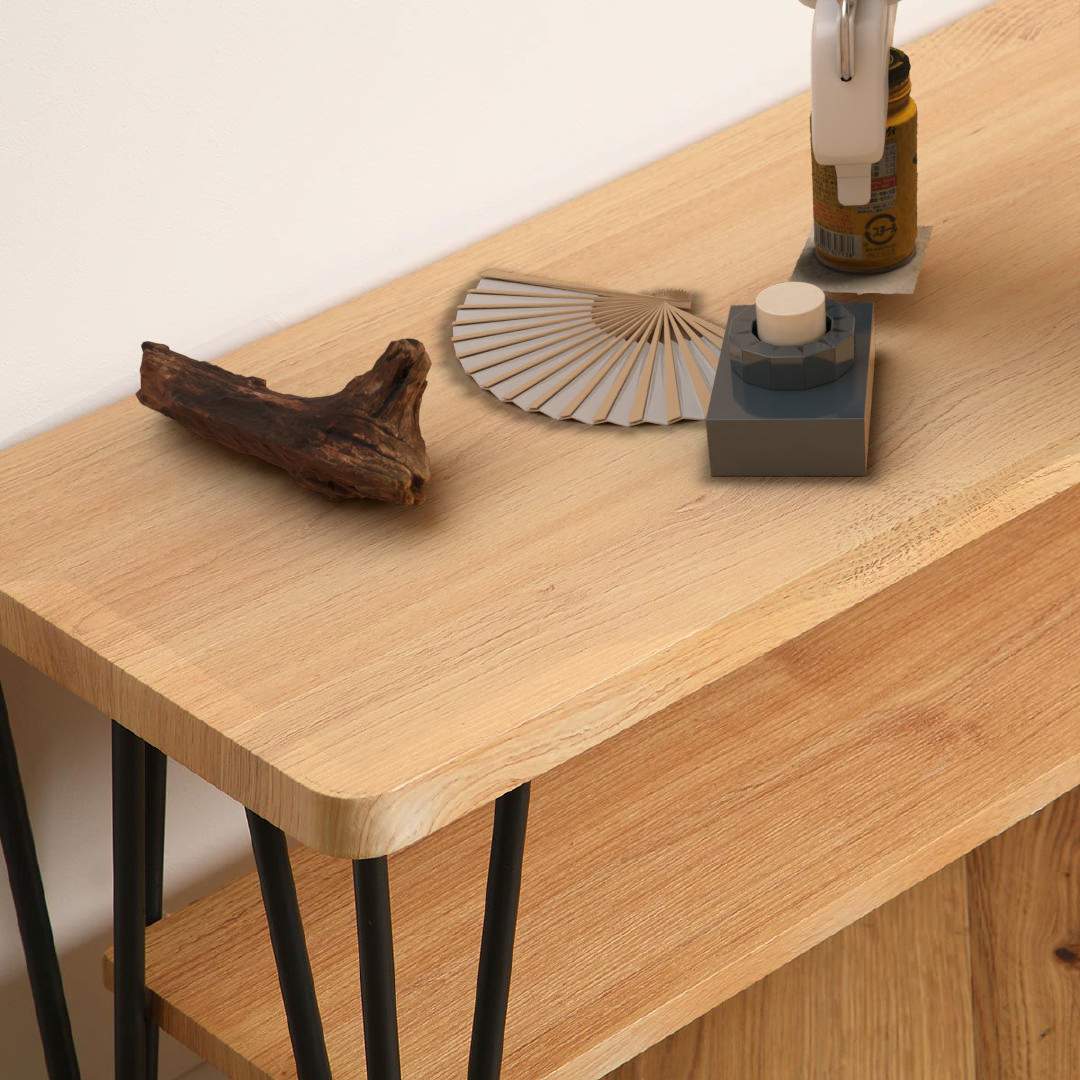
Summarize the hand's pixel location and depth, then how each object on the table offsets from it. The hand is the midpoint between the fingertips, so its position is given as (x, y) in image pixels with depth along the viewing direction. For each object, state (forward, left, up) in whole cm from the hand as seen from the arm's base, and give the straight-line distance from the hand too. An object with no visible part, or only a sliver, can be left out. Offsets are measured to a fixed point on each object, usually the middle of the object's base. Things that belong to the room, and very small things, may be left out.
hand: (858, 172), depth 94 cm
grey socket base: (+3, +14, -8) cm, 16 cm away
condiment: (0, +1, -5) cm, 5 cm away
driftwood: (+30, +18, -8) cm, 36 cm away
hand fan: (+15, +7, -8) cm, 18 cm away
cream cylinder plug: (+3, +14, -3) cm, 15 cm away
